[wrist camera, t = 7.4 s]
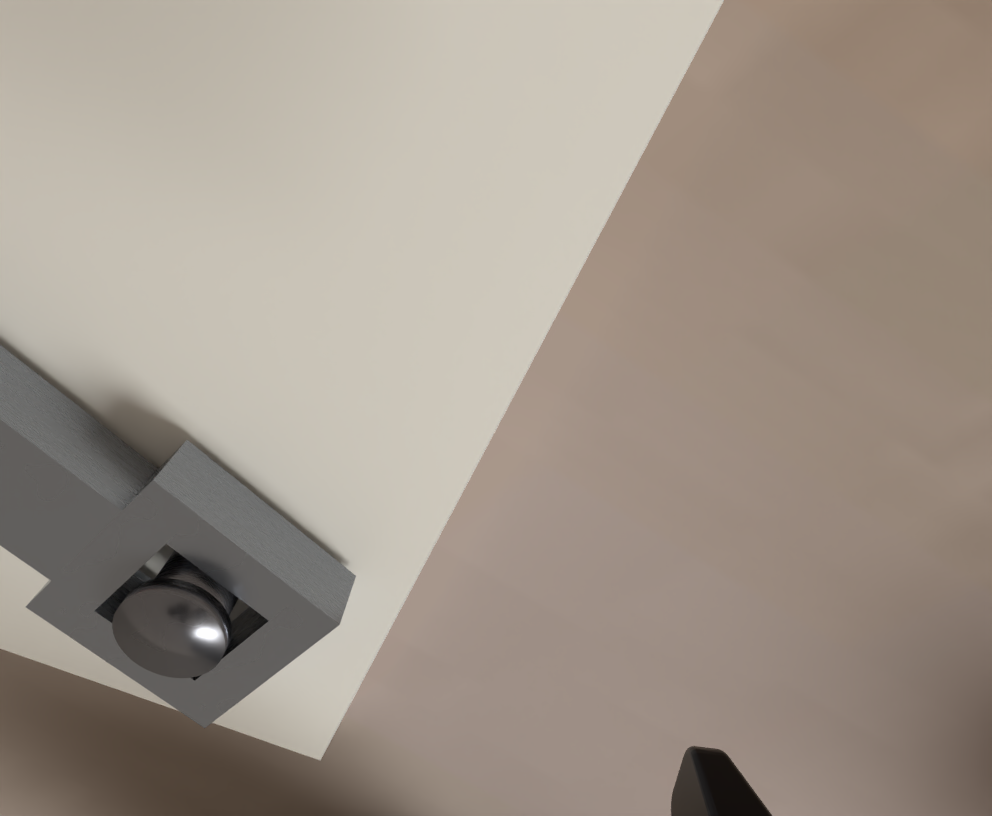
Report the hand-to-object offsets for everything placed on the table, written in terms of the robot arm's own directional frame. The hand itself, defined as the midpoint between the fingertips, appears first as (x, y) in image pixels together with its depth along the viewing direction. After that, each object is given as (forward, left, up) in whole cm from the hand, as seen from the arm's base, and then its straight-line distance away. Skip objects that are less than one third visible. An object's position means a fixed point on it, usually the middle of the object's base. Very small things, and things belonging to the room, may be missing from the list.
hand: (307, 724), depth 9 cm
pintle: (-7, +3, -11) cm, 13 cm away
